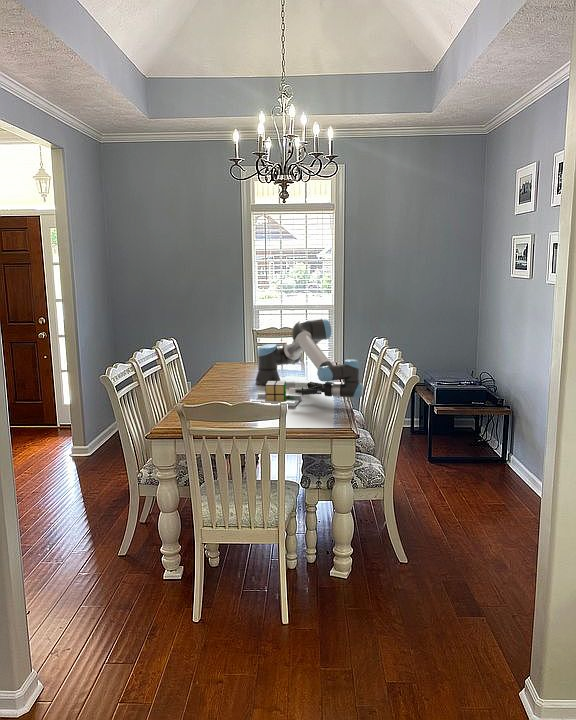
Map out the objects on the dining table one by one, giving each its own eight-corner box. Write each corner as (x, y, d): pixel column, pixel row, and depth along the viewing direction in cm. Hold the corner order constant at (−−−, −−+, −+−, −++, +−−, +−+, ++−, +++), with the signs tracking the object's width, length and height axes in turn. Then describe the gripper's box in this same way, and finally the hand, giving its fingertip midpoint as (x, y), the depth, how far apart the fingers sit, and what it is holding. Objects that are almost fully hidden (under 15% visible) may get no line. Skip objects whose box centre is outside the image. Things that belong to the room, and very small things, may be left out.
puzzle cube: (267, 399, 320) (267, 380, 318) (286, 399, 319) (286, 381, 318) (265, 403, 310) (265, 384, 309) (284, 403, 310) (284, 385, 308)
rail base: (249, 405, 310) (249, 400, 309) (258, 398, 326) (258, 393, 325) (294, 407, 304) (294, 402, 304) (301, 400, 321) (301, 395, 320)
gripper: (328, 402, 295) (287, 400, 300) (336, 391, 319) (297, 389, 324) (328, 387, 294) (286, 385, 299) (336, 377, 318) (297, 375, 323)
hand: (292, 387), depth 311 cm, fingers open, 13 cm apart
